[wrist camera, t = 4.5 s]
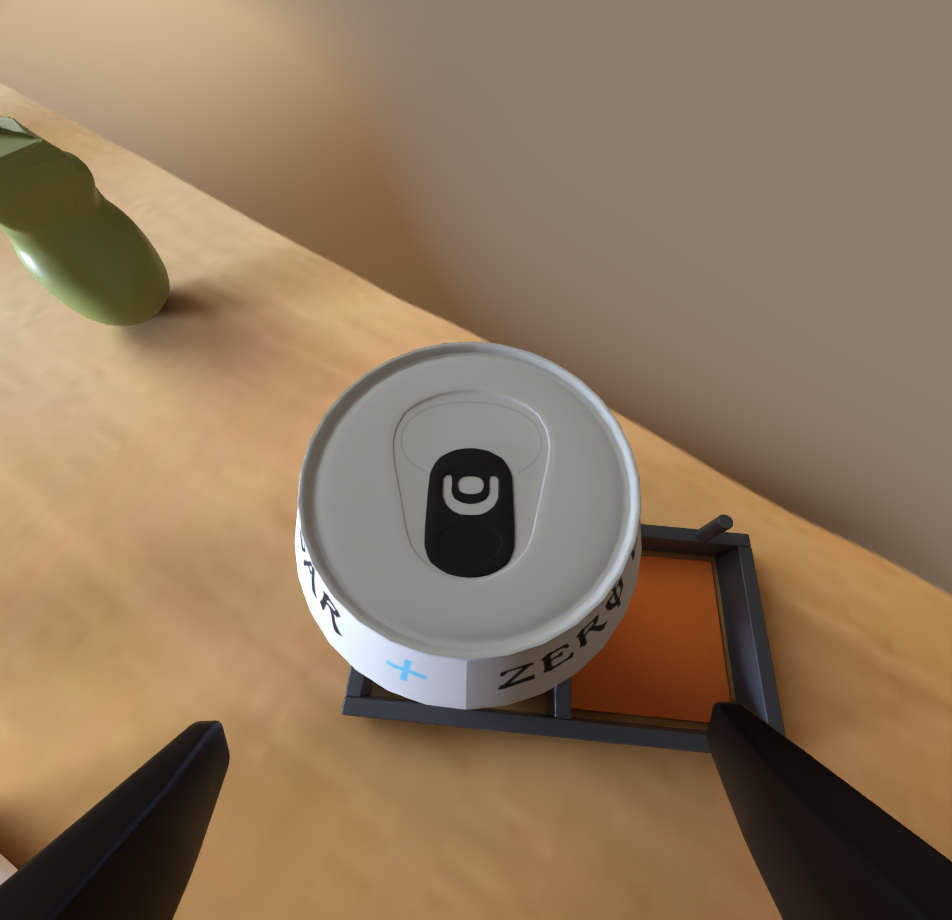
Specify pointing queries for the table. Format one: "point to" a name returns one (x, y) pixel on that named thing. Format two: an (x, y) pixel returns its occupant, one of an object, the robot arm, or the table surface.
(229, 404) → the table surface
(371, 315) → the table surface
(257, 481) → the table surface
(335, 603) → the energy drink can
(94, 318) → the green rounded upright piece
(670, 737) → the dark grey divided frame
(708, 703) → the mat
